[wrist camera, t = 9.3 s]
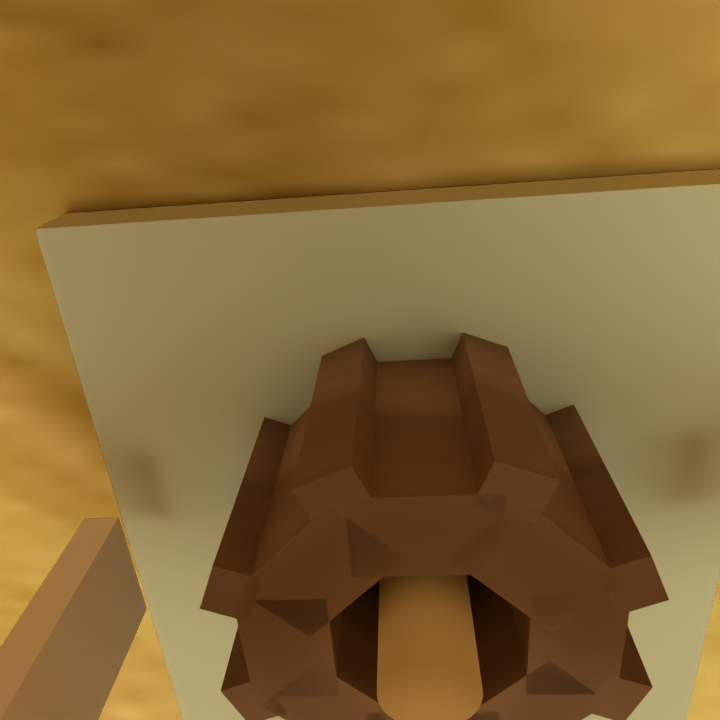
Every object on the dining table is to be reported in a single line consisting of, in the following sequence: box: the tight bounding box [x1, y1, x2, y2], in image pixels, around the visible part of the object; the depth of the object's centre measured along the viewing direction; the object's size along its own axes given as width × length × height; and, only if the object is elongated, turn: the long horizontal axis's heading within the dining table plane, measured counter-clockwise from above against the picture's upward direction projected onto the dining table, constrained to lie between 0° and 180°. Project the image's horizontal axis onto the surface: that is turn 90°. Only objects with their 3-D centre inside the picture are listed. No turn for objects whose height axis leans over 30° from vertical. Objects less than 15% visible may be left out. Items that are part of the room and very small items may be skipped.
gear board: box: [35, 169, 720, 720], centre depth 16 cm, size 24×16×8 cm, turn 4°
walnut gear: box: [200, 333, 669, 720], centre depth 14 cm, size 8×8×5 cm
